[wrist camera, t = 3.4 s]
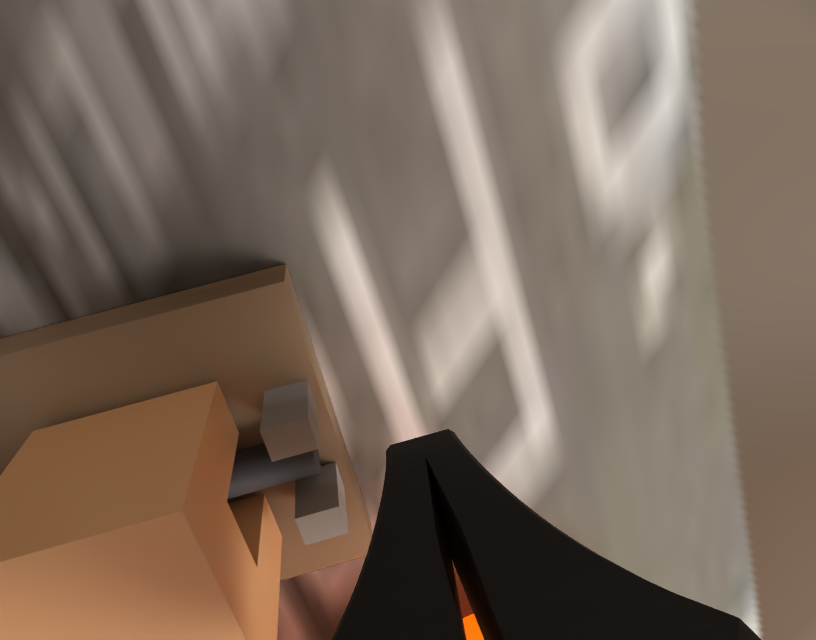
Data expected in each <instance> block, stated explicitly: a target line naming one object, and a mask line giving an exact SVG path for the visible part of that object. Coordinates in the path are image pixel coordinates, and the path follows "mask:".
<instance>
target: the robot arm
mask: <svg viewBox="0 0 816 640" xmlns="http://www.w3.org/2000/svg"><path fill="white" fill-rule="evenodd" d="M452 560H453V563H454V566H455V568H456V571H457V573H458V576H459V578H460V581H461V583H462V586H463V588H464V591H465V593H466V596H467V598H468V601H469V603H470V606H471V608H472V611H473V613H474V616H475V618H476V621H477V623H478V626H479V628H480V631H481V633H482V636H483V638H484V640H761V639H760V638H759V637H758V636H757V635H756V634H755V633H754V632H753V631H752V630H751V629H750V628H749V627H748V626H747V625H746V624H745V623H744V622H743V621H742V620H741V619H740V618H738V617H735V616H733V615H730V614H727V613H725V612H722V611H720V610H717V609H714V608H712V607H709V606H706V605H704V604H701V603H699V602H696V601H693V600H691V599H688V598H685V597H683V596H680V595H678V594H675V593H673V592H671V591H668V590H666V589H664V588H662V587H660V586H658V585H655V584H653V583H651V582H649V581H647V580H645V579H643V578H641V577H639V576H637V575H635V574H633V573H631V572H630V571H628V570H626V569H624V568H622V567H620V566H618V565H617V564H615V563H613V562H611V561H609V560H607V559H605V558H603V557H602V556H600V555H598V554H596V553H595V552H593V551H591V550H590V549H588V548H586V547H585V546H583V545H582V544H580V543H578V542H577V541H575V540H574V539H572V538H571V537H569V536H568V535H566V534H565V533H563V532H562V531H560V530H559V529H557V528H556V527H554V526H553V525H551V524H550V523H549V522H547V521H546V520H545V519H543V518H542V517H541V516H539V515H538V514H537V513H535V512H534V511H533V510H532V509H530V508H529V507H528V506H527V505H525V504H524V503H523V502H522V501H520V500H519V499H518V498H517V497H516V496H514V495H513V494H512V493H511V492H510V491H509V490H507V489H506V488H505V487H504V486H503V485H502V484H501V483H500V482H499V481H498V480H497V479H496V478H495V477H493V476H492V475H491V474H490V473H489V472H488V471H487V470H486V469H485V468H484V467H483V466H482V465H481V464H480V463H479V462H478V461H477V460H476V459H475V457H474V456H473V455H472V454H471V453H470V452H469V451H468V450H467V449H466V447H465V446H464V445H463V444H462V442H461V441H460V440H459V439H458V437H457V436H456V434H455V433H454V432H453V431H451V430H449V429H447V430H443V431H439V432H436V433H432V434H429V435H425V436H422V437H418V438H414V439H411V440H407V441H404V442H400V443H397V444H393V445H390V446H389V448H388V449H387V451H386V472H385V480H384V486H383V493H382V497H381V502H380V507H379V511H378V516H377V520H376V524H375V528H374V531H373V535H372V538H371V542H370V545H369V548H368V552H367V555H366V558H365V561H364V564H363V567H362V570H361V573H360V575H359V578H358V581H357V583H356V586H355V588H354V591H353V593H352V596H351V598H350V601H349V603H348V605H347V608H346V610H345V612H344V614H343V616H342V619H341V621H340V623H339V625H338V627H337V629H336V632H335V634H334V636H333V638H332V640H467V639H466V633H465V628H464V623H463V617H462V612H461V606H460V601H459V596H458V590H457V585H456V579H455V574H454V569H453V563H452Z"/></svg>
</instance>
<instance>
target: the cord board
mask: <svg viewBox="0 0 816 640" xmlns="http://www.w3.org/2000/svg"><path fill="white" fill-rule="evenodd" d="M216 381H218V384H219V386H220V389H221V391H222V393H223V396H224V398H225V401H226V403H227V405H228V408H229V410H230V412H231V415H232V417H233V420H234V422H235V424H236V427H237V429H238V432H239V436H238V442H237V448H236V453H235V459H234V464H233V470H232V476H231V481H230V487H229V492H228V498H227V502H228V504H229V503H232V502H236V501H239V500H243V499H246V498H250V497H254V496H257V495H261V494H265V496H266V499H267V501H268V504H269V506H270V508H271V511H272V513H273V516H274V518H275V520H276V523H277V525H278V528H279V530H280V532H281V535H282V548H281V569H280V581H282V580H286V579H289V578H292V577H296V576H299V575H303V574H306V573H310V572H313V571H317V570H320V569H323V568H327V567H330V566H334V565H337V564H341V563H344V562H348V561H351V560H354V559H358V558H361V557H365V556H366V555H367V552H368V548H369V545H370V542H371V538H372V529H371V522H370V519H369V516H368V513H367V510H366V507H365V504H364V501H363V498H362V495H361V492H360V488H359V485H358V482H357V479H356V476H355V473H354V470H353V467H352V464H351V461H350V458H349V455H348V452H347V449H346V446H345V443H344V440H343V436H342V433H341V430H340V427H339V424H338V421H337V418H336V415H335V412H334V409H333V406H332V403H331V400H330V397H329V394H328V391H327V388H326V385H325V381H324V378H323V375H322V372H321V369H320V366H319V363H318V360H317V357H316V354H315V351H314V348H313V345H312V342H311V339H310V336H309V333H308V329H307V326H306V323H305V320H304V317H303V314H302V311H301V308H300V305H299V302H298V299H297V296H296V293H295V290H294V287H293V284H292V281H291V277H290V274H289V271H288V268H287V265H286V264H283V265H279V266H275V267H271V268H268V269H264V270H260V271H256V272H252V273H248V274H245V275H241V276H237V277H233V278H229V279H226V280H222V281H218V282H214V283H210V284H206V285H203V286H199V287H195V288H191V289H187V290H184V291H180V292H176V293H172V294H168V295H165V296H161V297H157V298H153V299H149V300H145V301H142V302H138V303H134V304H130V305H126V306H123V307H119V308H115V309H111V310H107V311H103V312H100V313H96V314H92V315H88V316H84V317H81V318H77V319H73V320H69V321H65V322H61V323H58V324H54V325H50V326H46V327H42V328H39V329H35V330H31V331H27V332H23V333H19V334H16V335H12V336H8V337H4V338H0V475H1V474H2V473H3V471H4V470H5V468H6V467H7V466H8V464H9V463H10V462H11V460H12V459H13V458H14V456H15V455H16V454H17V452H18V451H19V449H20V448H21V447H22V445H23V444H24V443H25V441H26V440H27V439H28V437H29V436H30V434H31V433H32V432H33V431H35V430H39V429H43V428H46V427H50V426H54V425H57V424H61V423H65V422H68V421H72V420H76V419H80V418H83V417H87V416H91V415H94V414H98V413H102V412H105V411H109V410H113V409H116V408H120V407H124V406H128V405H131V404H135V403H139V402H142V401H146V400H150V399H153V398H157V397H161V396H164V395H168V394H172V393H176V392H179V391H183V390H187V389H190V388H194V387H198V386H201V385H205V384H209V383H212V382H216Z"/></svg>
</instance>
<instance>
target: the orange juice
mask: <svg viewBox="0 0 816 640" xmlns="http://www.w3.org/2000/svg"><path fill="white" fill-rule="evenodd" d="M463 623H464V628H465V633H466V639H467V640H484V638H483V636H482V633H481V631H480V628H479V626H478V623H477V621H476V618H475V616H474V614H472V615H469V616H467V617H464V618H463Z"/></svg>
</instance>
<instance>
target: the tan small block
mask: <svg viewBox="0 0 816 640" xmlns="http://www.w3.org/2000/svg"><path fill="white" fill-rule="evenodd" d="M238 436H239V432H238V429H237V427H236V424H235V422H234V420H233V417H232V415H231V412H230V410H229V408H228V405H227V403H226V401H225V398H224V396H223V393H222V391H221V389H220V386H219V384H218V381H216V382H212V383H209V384H205V385H201V386H198V387H194V388H190V389H187V390H183V391H179V392H176V393H172V394H168V395H164V396H161V397H157V398H153V399H150V400H146V401H142V402H139V403H135V404H131V405H128V406H124V407H120V408H116V409H113V410H109V411H105V412H102V413H98V414H94V415H91V416H87V417H83V418H80V419H76V420H72V421H68V422H65V423H61V424H57V425H54V426H50V427H46V428H43V429H39V430H35V431H33V432H32V433H31V434H30V436H29V437H28V439H27V440H26V441H25V443H24V444H23V445H22V447H21V448H20V449H19V451H18V452H17V454H16V455H15V456H14V458H13V459H12V460H11V462H10V463H9V464H8V466H7V467H6V468H5V470H4V471H3V473H2V474H1V475H0V640H277V630H278V609H279V589H280V569H281V548H282V535H281V532H280V530H279V528H278V525H277V523H276V520H275V518H274V516H273V513H272V511H271V508H270V506H269V504H268V501H267V499H266V496H265V494H261V495H257V496H254V497H250V498H246V499H243V500H239V501H236V502H232V503H229V504H228V502H227V498H228V492H229V487H230V481H231V476H232V470H233V464H234V459H235V453H236V448H237V442H238Z"/></svg>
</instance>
